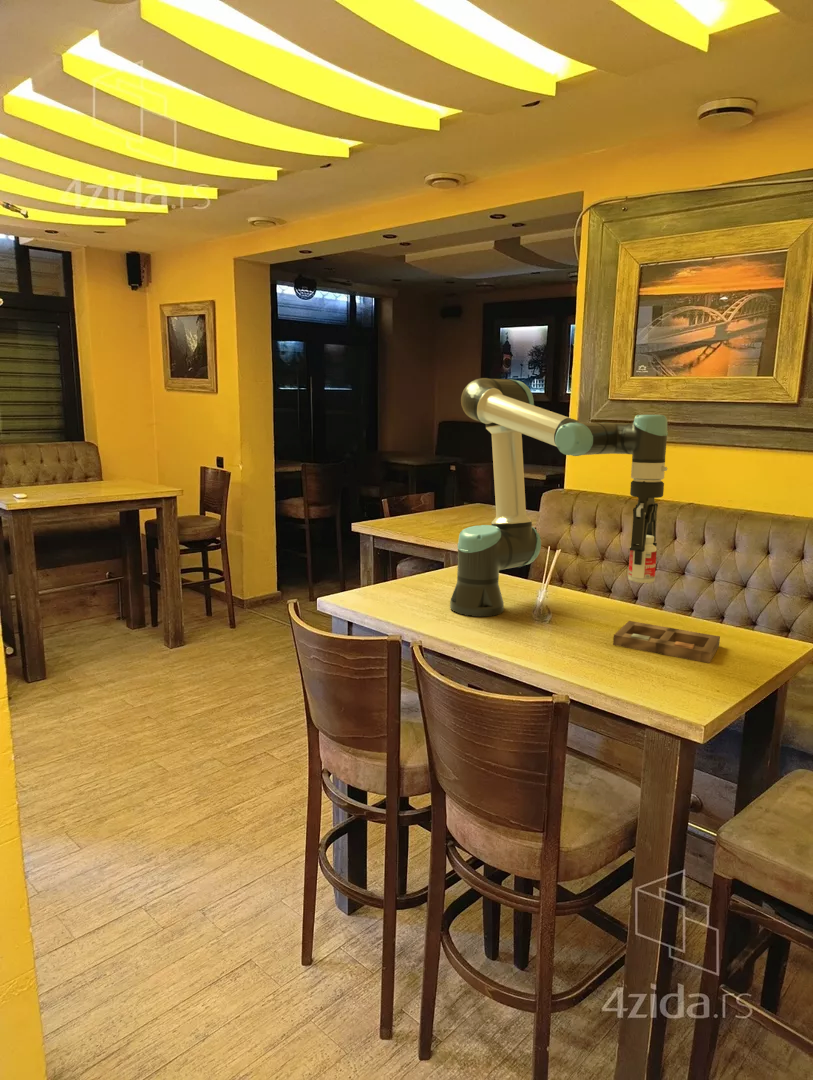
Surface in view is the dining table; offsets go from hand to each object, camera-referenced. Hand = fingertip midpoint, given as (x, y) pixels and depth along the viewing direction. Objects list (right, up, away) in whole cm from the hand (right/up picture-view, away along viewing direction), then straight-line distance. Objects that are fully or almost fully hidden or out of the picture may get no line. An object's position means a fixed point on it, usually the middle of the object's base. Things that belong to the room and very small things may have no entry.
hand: (641, 574), depth 171 cm
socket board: (+6, -17, 0) cm, 18 cm away
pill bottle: (0, -2, 0) cm, 2 cm away
